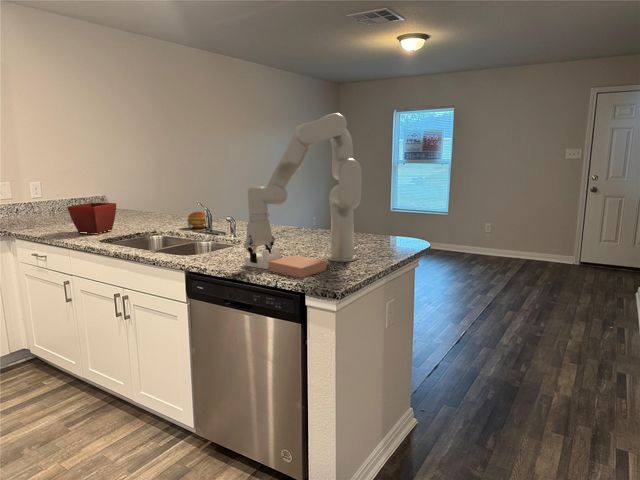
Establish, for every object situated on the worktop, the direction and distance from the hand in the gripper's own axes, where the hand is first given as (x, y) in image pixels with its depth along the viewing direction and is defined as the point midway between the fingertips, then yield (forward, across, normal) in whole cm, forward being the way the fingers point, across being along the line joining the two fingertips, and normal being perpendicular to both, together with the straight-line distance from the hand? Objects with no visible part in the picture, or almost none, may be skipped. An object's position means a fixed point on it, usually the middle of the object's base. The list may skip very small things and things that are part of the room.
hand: (260, 260), depth 181 cm
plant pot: (+2, +5, -139) cm, 139 cm away
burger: (+2, -42, -102) cm, 110 cm away
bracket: (+2, 0, +1) cm, 2 cm away
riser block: (+3, -4, +17) cm, 17 cm away
